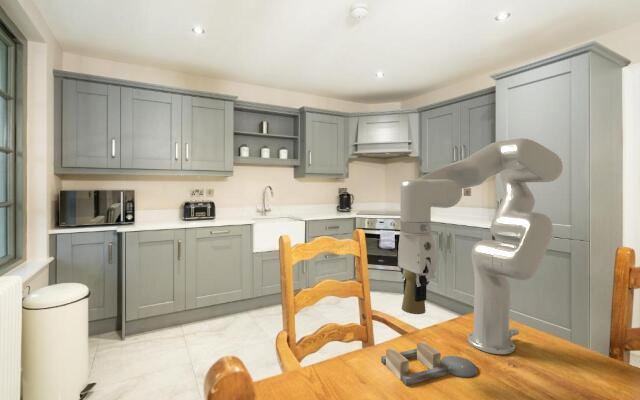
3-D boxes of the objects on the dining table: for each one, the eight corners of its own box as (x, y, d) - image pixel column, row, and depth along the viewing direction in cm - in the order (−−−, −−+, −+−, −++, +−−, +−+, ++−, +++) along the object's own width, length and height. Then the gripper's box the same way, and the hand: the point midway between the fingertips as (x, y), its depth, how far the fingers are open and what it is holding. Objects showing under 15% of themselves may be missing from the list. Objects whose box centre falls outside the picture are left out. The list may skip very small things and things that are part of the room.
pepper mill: (427, 315, 80) (429, 271, 79) (402, 312, 81) (403, 269, 80) (424, 306, 86) (425, 266, 85) (400, 304, 87) (402, 264, 86)
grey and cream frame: (418, 353, 91) (418, 338, 91) (446, 374, 81) (446, 357, 81) (381, 361, 87) (381, 345, 87) (405, 385, 77) (406, 367, 76)
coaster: (458, 355, 90) (458, 353, 90) (485, 372, 82) (485, 370, 82) (432, 361, 87) (432, 359, 87) (458, 380, 79) (458, 378, 78)
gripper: (450, 231, 76) (449, 307, 77) (407, 223, 91) (407, 286, 92) (425, 233, 73) (424, 311, 74) (385, 224, 89) (384, 289, 90)
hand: (414, 296), depth 83 cm, fingers closed on pepper mill, 3 cm apart
